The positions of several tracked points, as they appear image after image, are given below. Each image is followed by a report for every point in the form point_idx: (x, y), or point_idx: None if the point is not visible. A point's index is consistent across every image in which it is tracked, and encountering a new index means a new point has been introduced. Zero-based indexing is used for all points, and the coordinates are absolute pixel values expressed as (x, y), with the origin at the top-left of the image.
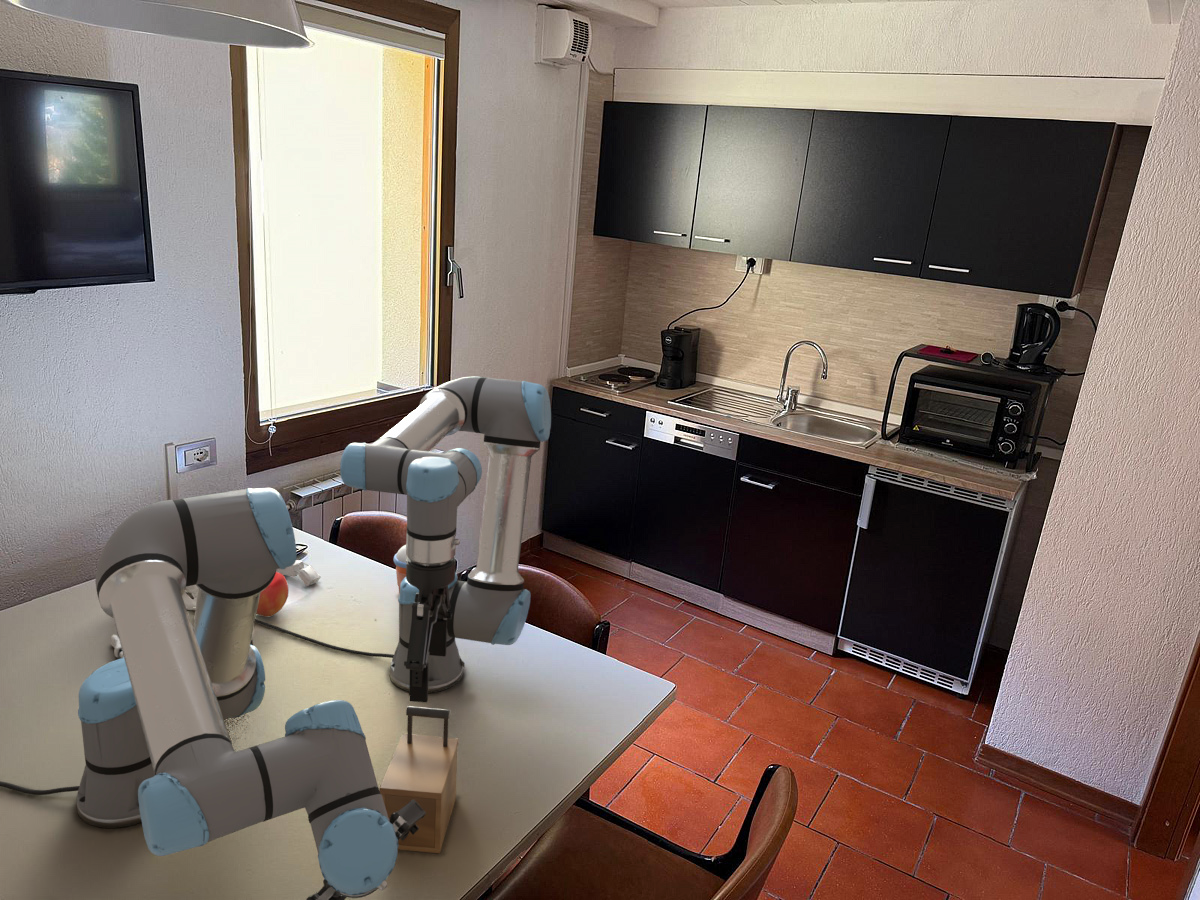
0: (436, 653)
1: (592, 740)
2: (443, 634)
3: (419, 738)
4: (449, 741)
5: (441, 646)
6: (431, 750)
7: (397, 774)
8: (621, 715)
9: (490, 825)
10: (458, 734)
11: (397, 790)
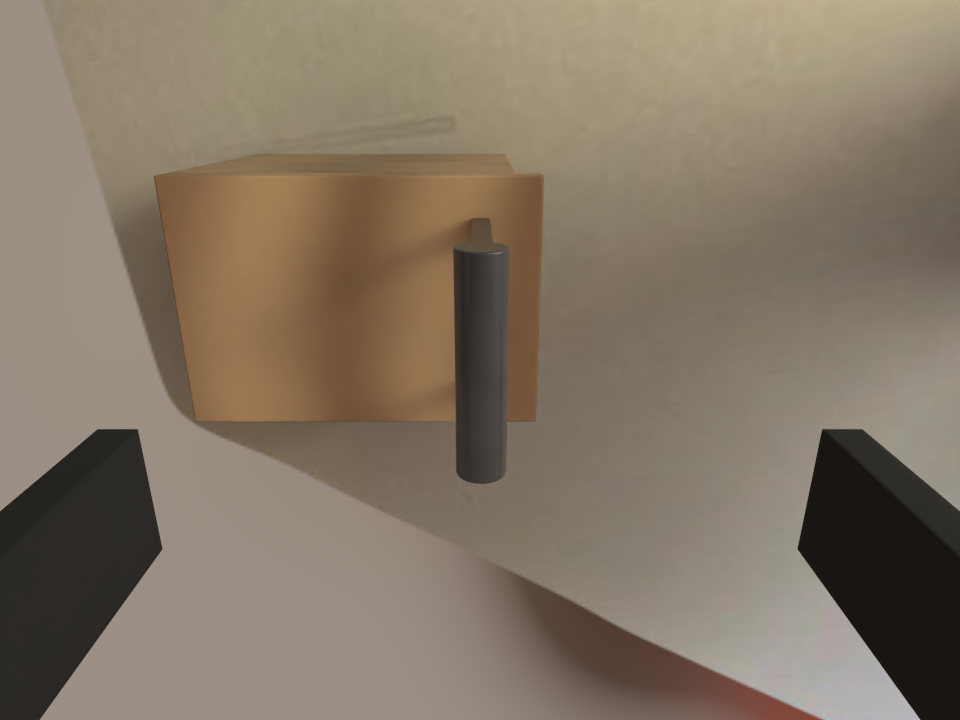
0: (820, 497)
1: (780, 646)
2: (934, 710)
3: (515, 263)
4: (511, 390)
5: (852, 583)
6: (440, 332)
7: (255, 230)
8: (893, 705)
9: (407, 441)
10: (822, 280)
11: (167, 254)
